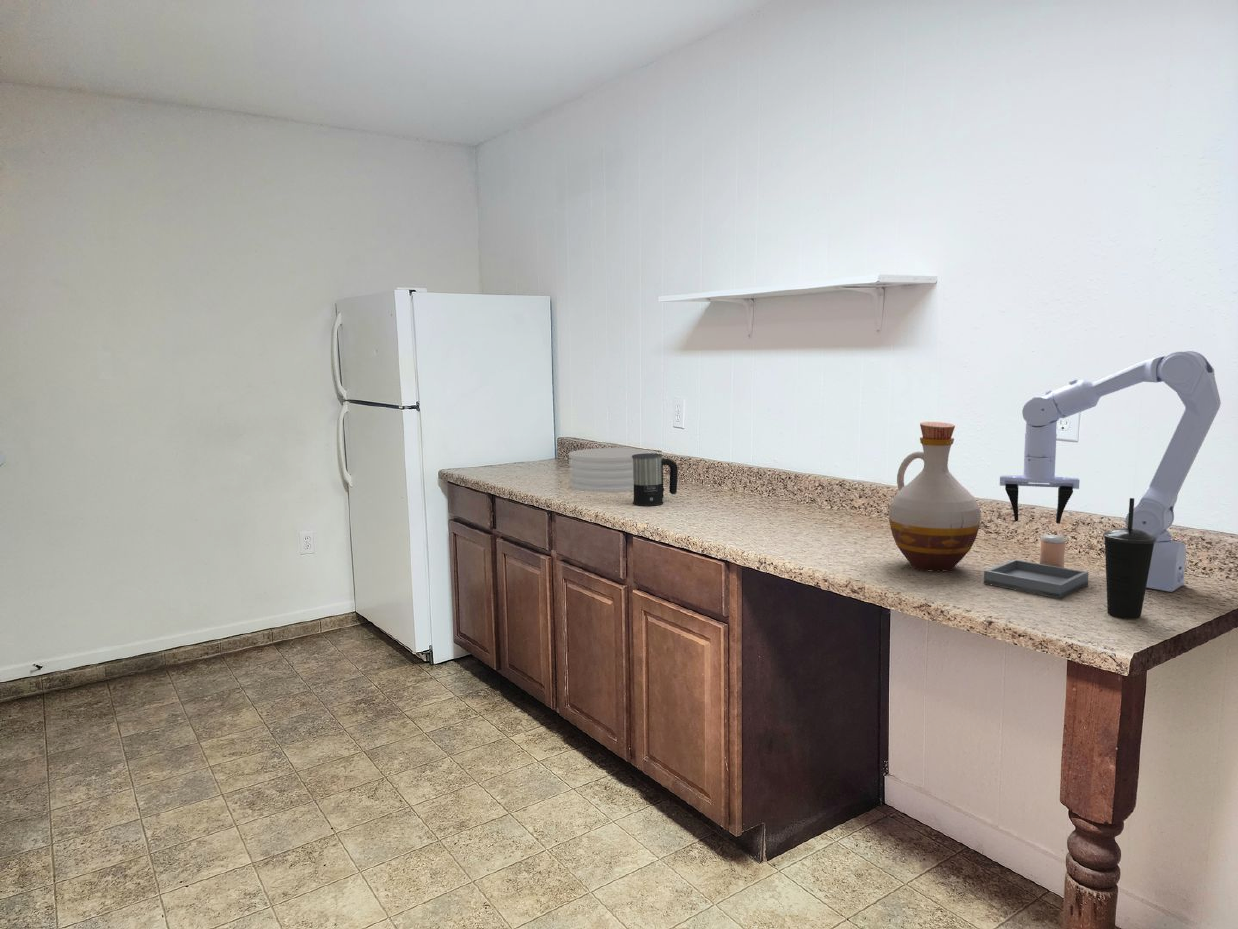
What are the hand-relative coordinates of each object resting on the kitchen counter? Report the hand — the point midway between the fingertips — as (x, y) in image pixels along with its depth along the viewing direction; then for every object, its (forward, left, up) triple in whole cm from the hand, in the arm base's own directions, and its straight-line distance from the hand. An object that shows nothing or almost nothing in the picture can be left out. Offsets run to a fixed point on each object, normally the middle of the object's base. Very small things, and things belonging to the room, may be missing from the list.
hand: (1037, 521), depth 172 cm
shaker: (-4, +1, -10) cm, 10 cm away
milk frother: (+112, +4, -10) cm, 113 cm away
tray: (-6, +14, -9) cm, 18 cm away
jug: (+15, +15, -10) cm, 24 cm away
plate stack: (+144, -8, -10) cm, 145 cm away
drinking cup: (-24, +22, -10) cm, 34 cm away
